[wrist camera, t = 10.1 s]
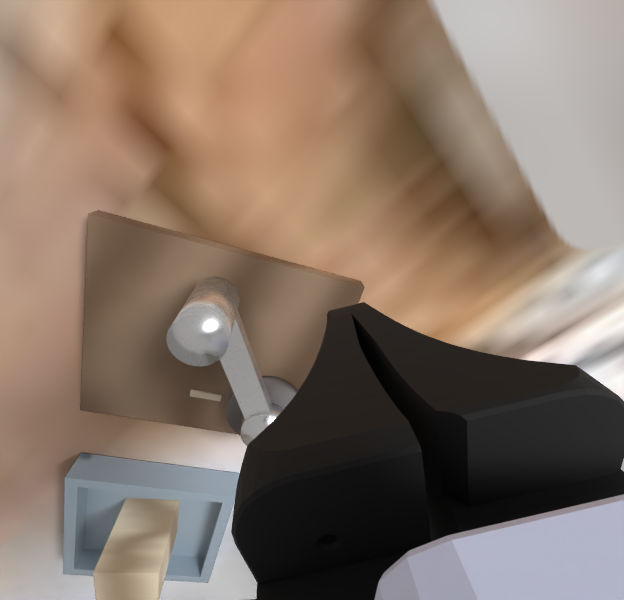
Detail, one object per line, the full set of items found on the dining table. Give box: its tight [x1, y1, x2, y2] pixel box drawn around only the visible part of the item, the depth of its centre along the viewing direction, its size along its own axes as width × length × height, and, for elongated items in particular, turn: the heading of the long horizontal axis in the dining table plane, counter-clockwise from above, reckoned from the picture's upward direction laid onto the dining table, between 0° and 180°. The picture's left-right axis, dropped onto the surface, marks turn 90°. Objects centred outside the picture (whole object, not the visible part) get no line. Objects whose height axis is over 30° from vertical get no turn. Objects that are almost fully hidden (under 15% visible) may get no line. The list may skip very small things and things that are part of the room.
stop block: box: [93, 498, 180, 600], centre depth 24 cm, size 4×4×5 cm
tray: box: [63, 453, 239, 583], centre depth 26 cm, size 12×12×2 cm
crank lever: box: [167, 276, 283, 446], centre depth 17 cm, size 12×3×5 cm, turn 13°
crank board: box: [80, 210, 364, 435], centre depth 20 cm, size 15×13×2 cm
